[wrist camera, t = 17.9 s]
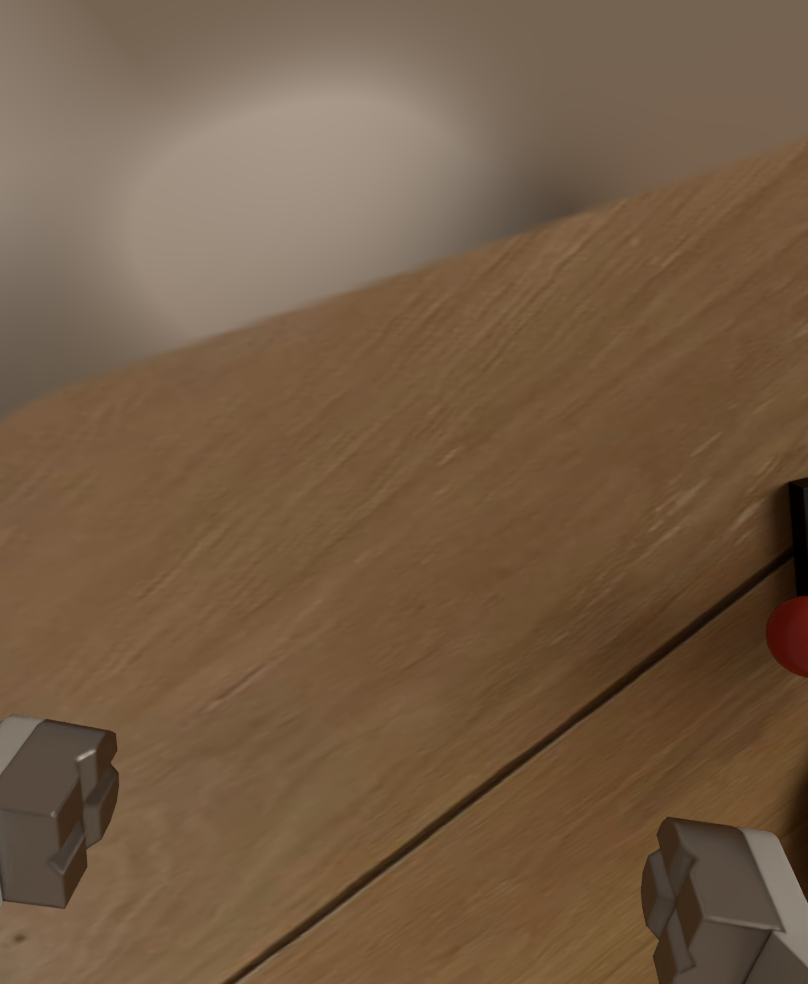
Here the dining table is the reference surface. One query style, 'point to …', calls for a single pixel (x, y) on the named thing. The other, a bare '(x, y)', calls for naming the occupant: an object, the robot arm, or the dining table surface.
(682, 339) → the dining table surface
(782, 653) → the lever
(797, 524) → the switch bracket
